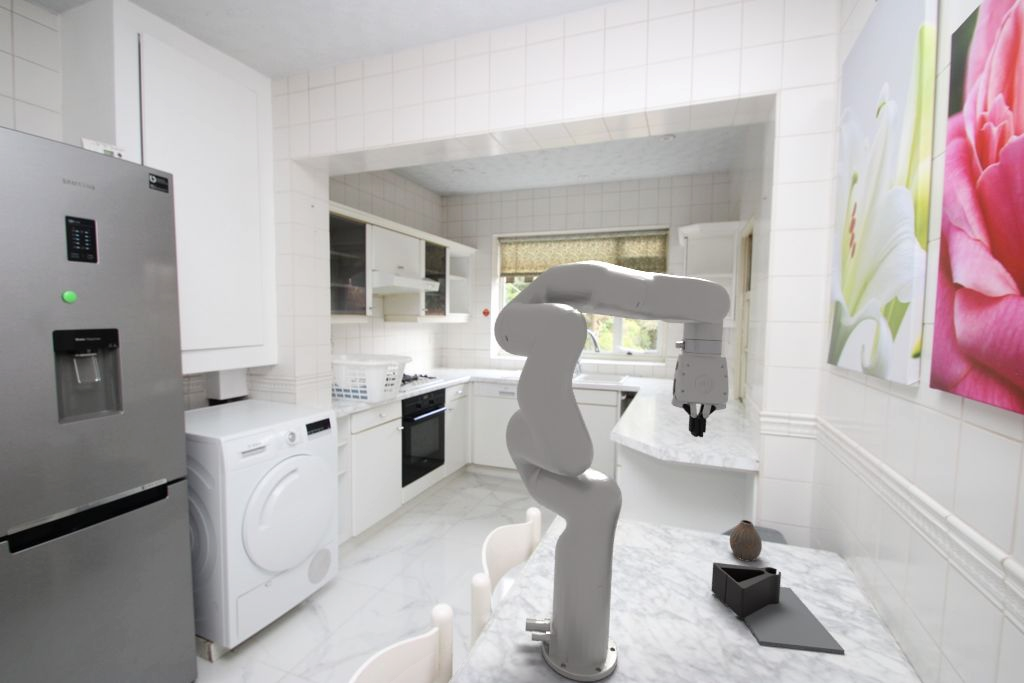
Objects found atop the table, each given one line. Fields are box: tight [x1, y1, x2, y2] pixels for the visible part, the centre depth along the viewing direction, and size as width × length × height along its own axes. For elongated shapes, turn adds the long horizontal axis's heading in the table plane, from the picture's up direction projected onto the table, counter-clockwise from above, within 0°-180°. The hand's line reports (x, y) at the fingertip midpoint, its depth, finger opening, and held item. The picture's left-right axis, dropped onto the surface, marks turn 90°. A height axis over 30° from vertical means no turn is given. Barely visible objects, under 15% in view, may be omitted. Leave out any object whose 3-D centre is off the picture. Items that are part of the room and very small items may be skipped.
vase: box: [729, 519, 763, 562], centre depth 107 cm, size 7×7×9 cm
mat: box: [742, 586, 845, 654], centre depth 85 cm, size 14×18×1 cm
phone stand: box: [711, 562, 782, 620], centre depth 88 cm, size 9×6×12 cm
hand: (696, 435), depth 91 cm, fingers closed
